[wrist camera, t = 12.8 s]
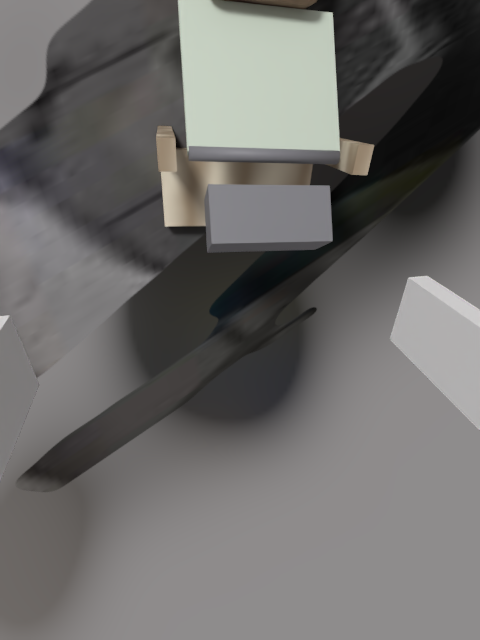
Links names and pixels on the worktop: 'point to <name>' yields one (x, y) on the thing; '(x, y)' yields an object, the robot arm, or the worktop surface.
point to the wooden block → (281, 3)
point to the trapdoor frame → (232, 175)
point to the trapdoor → (260, 117)
